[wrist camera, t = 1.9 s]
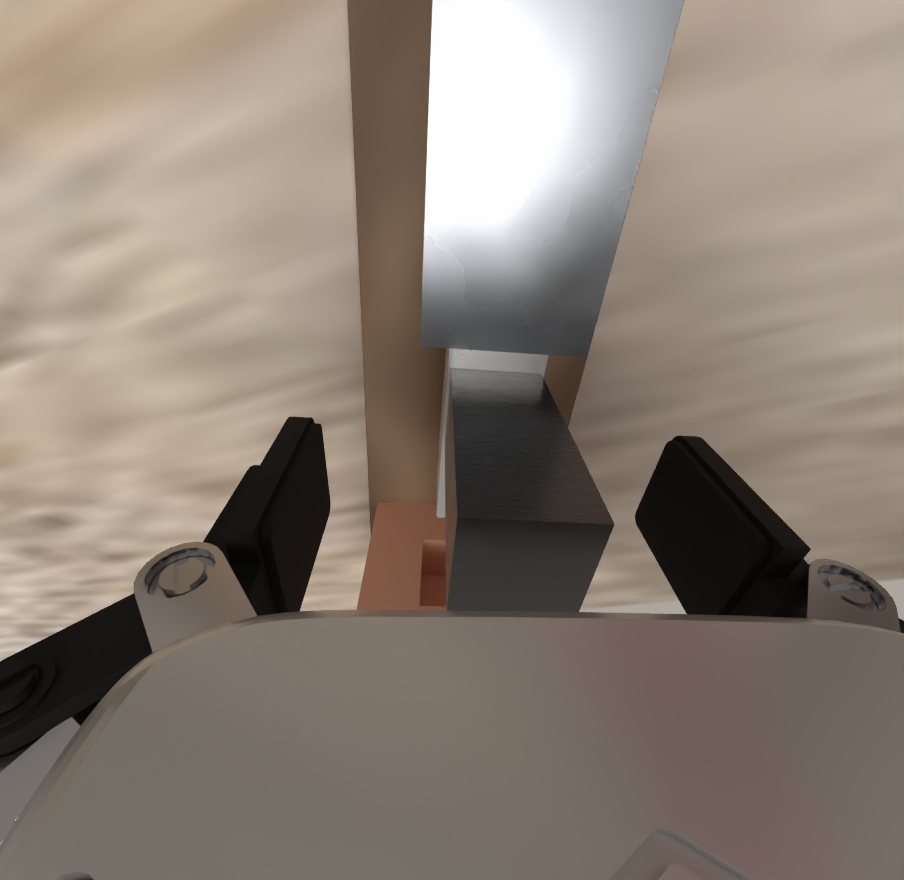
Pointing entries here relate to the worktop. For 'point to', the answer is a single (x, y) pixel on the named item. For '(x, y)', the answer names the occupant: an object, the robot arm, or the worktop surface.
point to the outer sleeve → (533, 164)
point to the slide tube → (513, 490)
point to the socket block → (405, 559)
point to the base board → (402, 252)
